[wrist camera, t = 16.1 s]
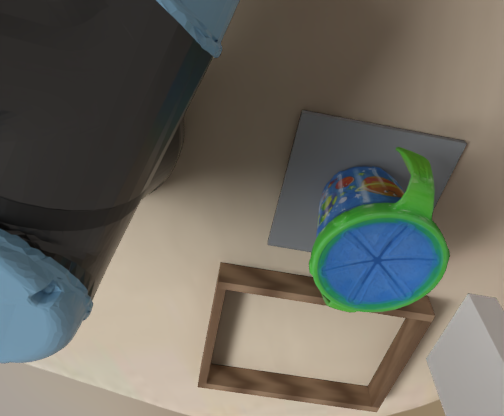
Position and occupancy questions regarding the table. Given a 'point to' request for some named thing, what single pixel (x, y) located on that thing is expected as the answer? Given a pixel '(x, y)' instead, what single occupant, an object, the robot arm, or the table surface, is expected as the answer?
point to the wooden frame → (302, 387)
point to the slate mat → (347, 167)
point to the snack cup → (378, 239)
